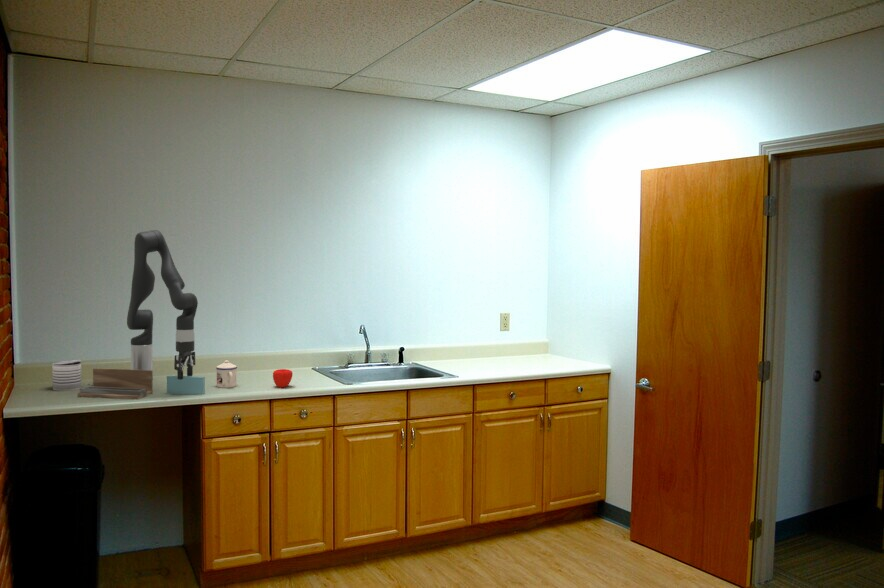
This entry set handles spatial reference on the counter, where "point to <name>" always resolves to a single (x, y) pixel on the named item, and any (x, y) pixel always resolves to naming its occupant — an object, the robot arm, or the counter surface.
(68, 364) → the can
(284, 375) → the apple
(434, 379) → the counter surface
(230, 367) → the teacup with lid
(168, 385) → the sliding panel
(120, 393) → the brown wooden stand
